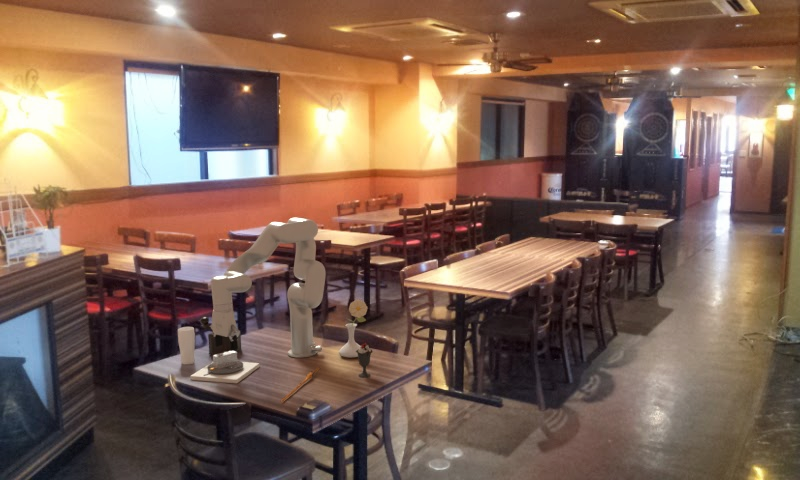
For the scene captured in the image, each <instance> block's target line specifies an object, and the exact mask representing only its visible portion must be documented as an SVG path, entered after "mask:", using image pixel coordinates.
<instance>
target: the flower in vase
mask: <svg viewBox="0 0 800 480" xmlns="http://www.w3.org/2000/svg"><path fill="white" fill-rule="evenodd" d="M368 309H369V308H368V306H367V304H366V302H365V301H364V300H361V299H355V300H354V301H352V302H350V304H349V308H348V312H349V314H350V315H351V316H353V317H354V318H355V319H354V320H352V319H349V318H347V317H345V319H346V320H347V321H350V322H352V323H346V324H345V327H346V328H347V331H348V341H347V342H346V343H345V344H344V345H343V346H342V347H341V348H340V349H339V350H338V354H339V356H341V357H344V358H352V359H353V358H358V353H357V352H356V351H357V350H358V349H360V347H361V345H360V344H359V343H357V342H356V341H355V330H356V327H357V326H358V324H357V323H355V322H356V320H357V321H358V322H359V323H363V322H366V321H367V319H366V318H365V317H364V316H365V315H366V314H367V311H368Z"/></svg>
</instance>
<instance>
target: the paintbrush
mask: <svg viewBox="0 0 800 480" xmlns="http://www.w3.org/2000/svg"><path fill="white" fill-rule="evenodd" d="M319 370H321V367H320V366H318V367H317V368H316V369H314V371H310V372H309V373H307V375H306V378H305V379H304V380H303V381H302V382H301V383H300V384H298V385H297V386H296V387H295V388H293V390H291V391H290V392H289V393H288V394H286V396H285V397H284V398H282V399H280V402H281V403H282V404H283V403H284V402H285V401H286V400H287V399H289V398H290V397H291V396H292V395H294V394H295V393H296V392H297V391H298V390H300V388H301V387H303V386H304V385H305V384H307V383H308V382H310V381H311V379H313V377H314V376H315V375H316V373H318V372H319Z"/></svg>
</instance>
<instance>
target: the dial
mask: <svg viewBox="0 0 800 480" xmlns="http://www.w3.org/2000/svg"><path fill="white" fill-rule="evenodd" d="M212 362H213V363H212ZM212 362H211V363H212V364H210V363H209V364H210V365H209V364H208V365H209V366H208V372H210V373H212V374H230V373H235V372H238V371H240V370H242V369H243V363H242V362H243V361H240V360H238V353H237V352H236V351H228V352H224V353H220V354H216V355H212Z"/></svg>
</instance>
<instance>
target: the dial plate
mask: <svg viewBox="0 0 800 480" xmlns="http://www.w3.org/2000/svg"><path fill="white" fill-rule="evenodd" d="M241 362H242V363H243V369H242V370H240V371H238V372H235V373H230V374H212V373H210V372H208V366H209V365H210V364H212V363H213V361H212V362H211V363H209V364H207V365H206V366H203V367H202V368H201V369H199V370H198V371H196V372H195V373H193V374H191V375H190V380H191V381H202V382H203V381H206V382H217V383H226V384H227V383H228V384H230V383H231V384H238V383H239V382H241V381H242V380H244V379H245V378H246V377H247V376H249V375H251V374H252V373H253V372H254V371H256V370H257V369H259V368H260V363H259V362H247V361H241Z"/></svg>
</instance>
